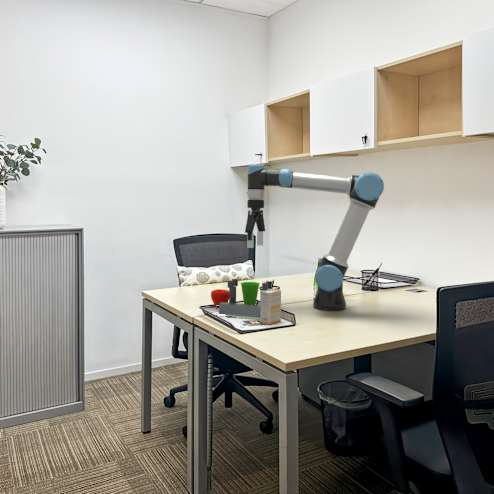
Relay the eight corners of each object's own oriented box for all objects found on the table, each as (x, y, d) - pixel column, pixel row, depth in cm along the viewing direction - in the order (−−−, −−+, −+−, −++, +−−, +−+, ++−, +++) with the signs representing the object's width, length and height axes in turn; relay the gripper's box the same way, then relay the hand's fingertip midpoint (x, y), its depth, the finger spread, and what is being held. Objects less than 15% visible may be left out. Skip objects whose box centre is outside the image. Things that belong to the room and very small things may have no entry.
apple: (208, 305, 238) (208, 288, 237) (226, 304, 241) (226, 287, 240) (213, 308, 229) (213, 292, 228) (232, 307, 232) (232, 291, 232)
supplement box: (271, 319, 210) (272, 288, 208) (281, 321, 207) (281, 289, 205) (259, 323, 203) (260, 291, 202) (269, 325, 200) (269, 292, 199)
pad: (269, 317, 214) (269, 315, 214) (264, 320, 208) (264, 319, 208) (222, 312, 222) (222, 311, 222) (215, 315, 215) (215, 314, 215)
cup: (257, 309, 230) (257, 285, 229) (238, 308, 232) (238, 284, 231) (261, 305, 239) (261, 282, 238) (242, 304, 240) (242, 281, 240)
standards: (274, 313, 222) (274, 281, 221) (269, 316, 216) (270, 283, 215) (229, 309, 229) (230, 278, 228) (224, 311, 223) (224, 280, 222)
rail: (265, 316, 213) (265, 305, 212) (263, 318, 209) (263, 307, 209) (222, 312, 219) (222, 302, 219) (218, 313, 216) (219, 303, 216)
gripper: (256, 199, 238) (256, 244, 240) (238, 198, 214) (237, 248, 216) (272, 199, 235) (271, 244, 237) (254, 199, 212) (254, 249, 214)
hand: (255, 246), depth 227 cm, fingers open, 13 cm apart
